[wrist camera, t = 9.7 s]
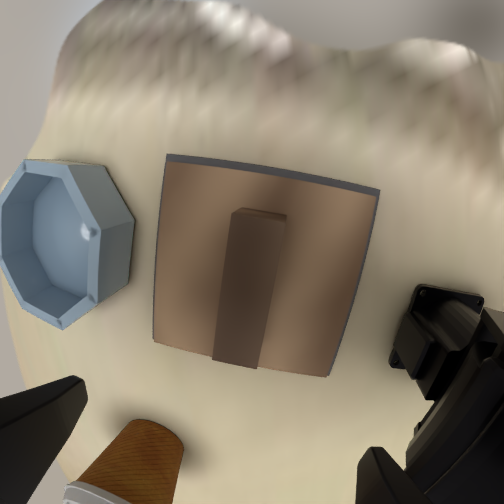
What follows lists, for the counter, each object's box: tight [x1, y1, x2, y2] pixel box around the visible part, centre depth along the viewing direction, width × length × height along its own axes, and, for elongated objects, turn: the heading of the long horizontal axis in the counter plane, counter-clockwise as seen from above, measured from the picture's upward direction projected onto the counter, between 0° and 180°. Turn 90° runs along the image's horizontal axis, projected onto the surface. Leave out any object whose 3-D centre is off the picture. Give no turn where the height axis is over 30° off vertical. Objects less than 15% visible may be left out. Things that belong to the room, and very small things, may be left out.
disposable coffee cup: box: [63, 420, 184, 504], centre depth 19 cm, size 10×10×12 cm
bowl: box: [0, 159, 135, 330], centre depth 18 cm, size 11×11×4 cm
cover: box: [154, 161, 376, 377], centre depth 16 cm, size 12×12×4 cm
